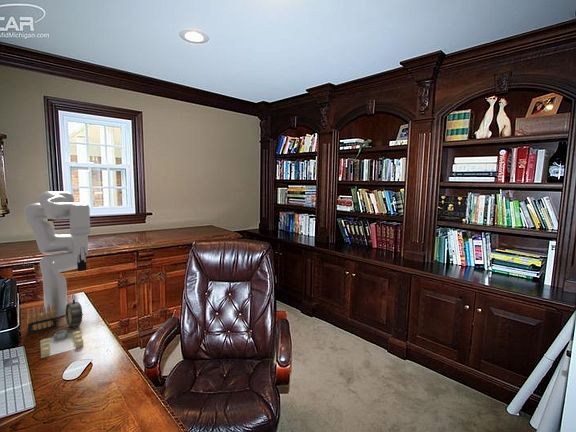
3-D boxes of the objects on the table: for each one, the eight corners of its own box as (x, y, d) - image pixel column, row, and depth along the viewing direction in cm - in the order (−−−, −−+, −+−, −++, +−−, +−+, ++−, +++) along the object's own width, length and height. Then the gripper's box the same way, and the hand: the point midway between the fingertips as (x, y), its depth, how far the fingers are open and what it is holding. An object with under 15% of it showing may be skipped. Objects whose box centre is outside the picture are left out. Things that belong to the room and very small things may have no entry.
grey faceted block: (53, 337, 132) (53, 332, 132) (67, 334, 135) (67, 329, 135) (54, 341, 129) (53, 336, 129) (68, 338, 132) (68, 332, 132)
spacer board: (40, 341, 130) (40, 334, 130) (79, 331, 139) (79, 325, 139) (41, 359, 117) (40, 352, 116) (84, 347, 126) (83, 340, 125)
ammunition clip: (27, 334, 135) (26, 309, 134) (27, 333, 136) (25, 307, 135) (57, 327, 143) (56, 303, 141) (56, 325, 144) (55, 302, 143)
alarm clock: (65, 324, 145) (63, 292, 144) (78, 321, 149) (77, 290, 148) (71, 332, 138) (69, 298, 136) (84, 328, 142) (83, 295, 140)
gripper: (68, 229, 139) (70, 267, 140) (71, 234, 127) (73, 275, 129) (87, 228, 143) (89, 265, 145) (92, 232, 132) (94, 272, 134)
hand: (82, 270), depth 137 cm, fingers closed
